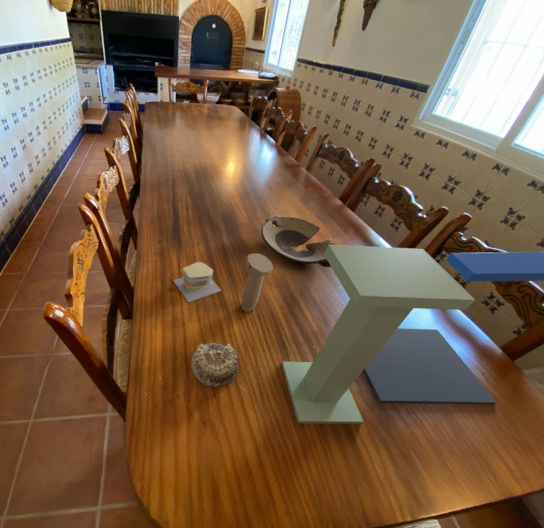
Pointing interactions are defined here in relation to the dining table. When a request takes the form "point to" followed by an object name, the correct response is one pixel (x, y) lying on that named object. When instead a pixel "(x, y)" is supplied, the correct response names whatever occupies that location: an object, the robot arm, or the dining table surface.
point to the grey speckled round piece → (215, 364)
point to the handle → (255, 279)
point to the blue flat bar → (499, 266)
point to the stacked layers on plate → (197, 282)
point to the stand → (366, 324)
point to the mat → (423, 371)
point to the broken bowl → (294, 240)
